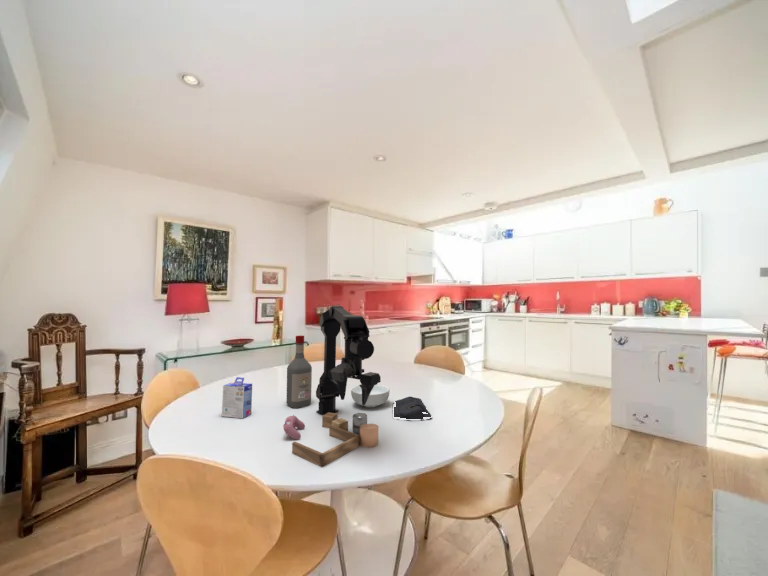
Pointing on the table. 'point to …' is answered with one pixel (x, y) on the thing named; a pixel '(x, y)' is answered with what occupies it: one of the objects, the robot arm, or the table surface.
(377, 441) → the peach cylinder puck
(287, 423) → the video game controller
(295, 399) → the liquor
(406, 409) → the dark slate chunk
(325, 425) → the walnut cube
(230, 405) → the ink cartridge box
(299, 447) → the frame
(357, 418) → the dark tin
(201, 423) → the table surface
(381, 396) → the cereal bowl
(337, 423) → the oak cube
